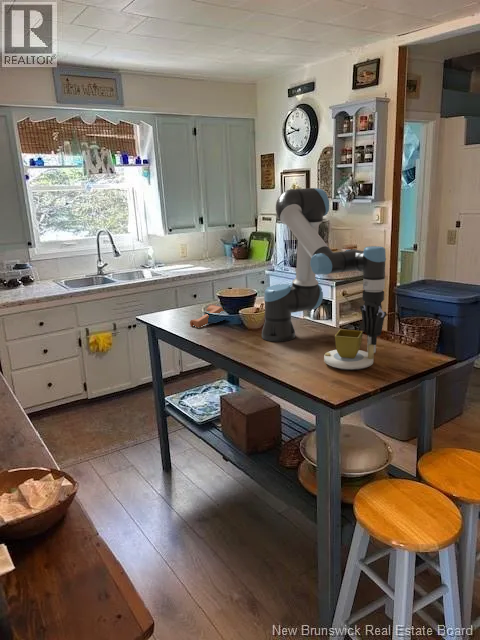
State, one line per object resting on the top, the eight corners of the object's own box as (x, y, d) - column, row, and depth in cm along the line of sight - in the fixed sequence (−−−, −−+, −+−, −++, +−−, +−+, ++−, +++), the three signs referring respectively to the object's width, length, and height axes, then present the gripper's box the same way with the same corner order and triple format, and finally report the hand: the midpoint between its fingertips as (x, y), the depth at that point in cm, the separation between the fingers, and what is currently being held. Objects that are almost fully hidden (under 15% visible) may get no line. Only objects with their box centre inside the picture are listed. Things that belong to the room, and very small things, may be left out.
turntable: (328, 351, 189) (328, 335, 187) (375, 354, 183) (375, 338, 181) (320, 366, 173) (320, 349, 171) (371, 371, 167) (371, 353, 165)
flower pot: (358, 361, 172) (358, 337, 170) (334, 358, 176) (334, 335, 173) (362, 353, 180) (363, 330, 178) (339, 351, 183) (339, 329, 181)
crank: (217, 318, 254) (216, 304, 252) (227, 320, 249) (227, 306, 247) (188, 326, 241) (187, 311, 239) (198, 329, 235) (197, 313, 233)
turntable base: (324, 361, 182) (324, 358, 182) (353, 356, 186) (353, 353, 186) (342, 372, 170) (342, 369, 170) (373, 367, 174) (373, 364, 174)
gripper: (354, 288, 176) (353, 348, 182) (375, 294, 164) (373, 359, 170) (371, 286, 178) (369, 346, 184) (393, 292, 166) (390, 356, 172)
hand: (371, 352), depth 177 cm, fingers closed
